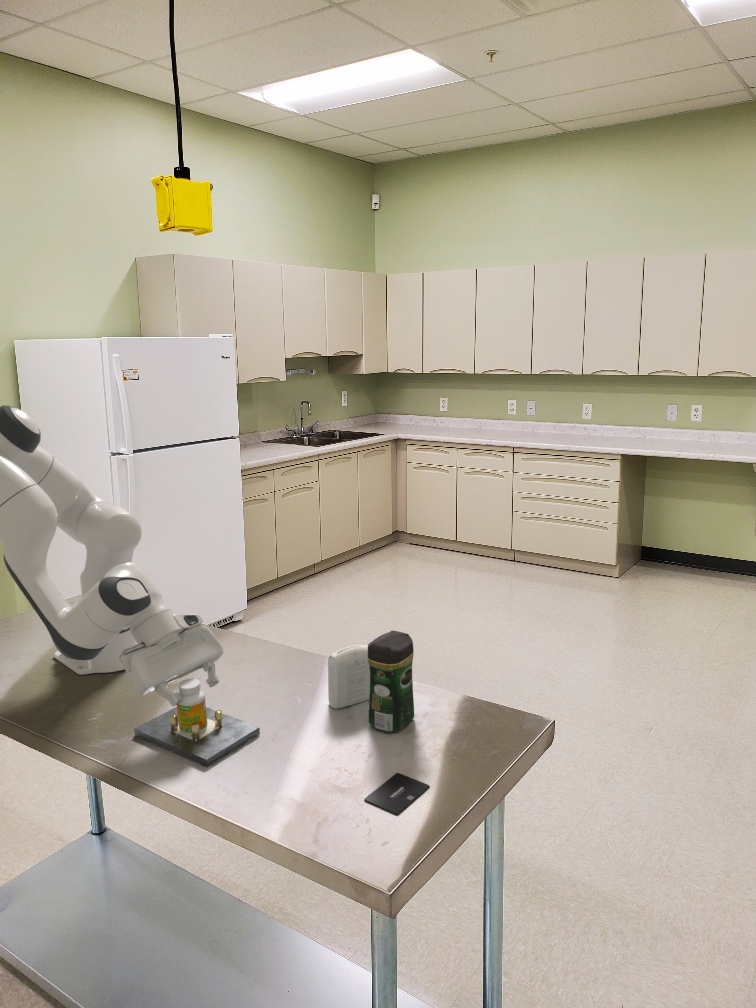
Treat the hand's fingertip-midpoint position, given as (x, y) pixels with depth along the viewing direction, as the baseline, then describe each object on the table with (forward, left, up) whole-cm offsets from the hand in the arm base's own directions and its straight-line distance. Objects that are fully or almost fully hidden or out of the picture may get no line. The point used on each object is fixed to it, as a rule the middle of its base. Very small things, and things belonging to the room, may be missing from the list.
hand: (196, 694), depth 148 cm
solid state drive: (+43, +5, -10) cm, 44 cm away
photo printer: (+16, +28, -9) cm, 34 cm away
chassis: (-1, 0, -9) cm, 9 cm away
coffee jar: (+28, +25, -9) cm, 39 cm away
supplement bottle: (-1, -1, -7) cm, 7 cm away
